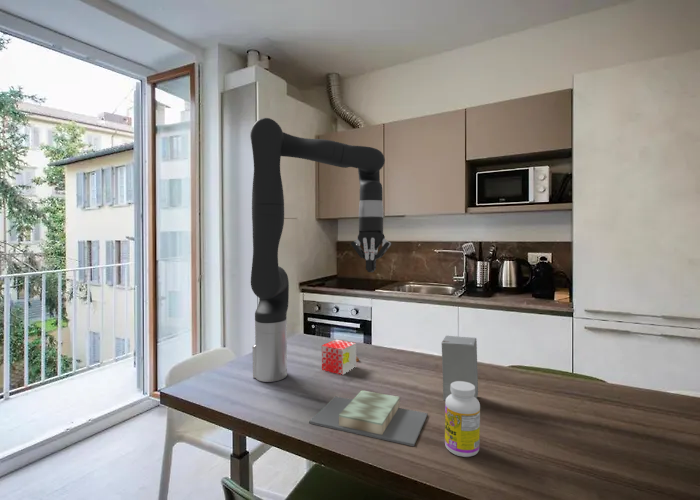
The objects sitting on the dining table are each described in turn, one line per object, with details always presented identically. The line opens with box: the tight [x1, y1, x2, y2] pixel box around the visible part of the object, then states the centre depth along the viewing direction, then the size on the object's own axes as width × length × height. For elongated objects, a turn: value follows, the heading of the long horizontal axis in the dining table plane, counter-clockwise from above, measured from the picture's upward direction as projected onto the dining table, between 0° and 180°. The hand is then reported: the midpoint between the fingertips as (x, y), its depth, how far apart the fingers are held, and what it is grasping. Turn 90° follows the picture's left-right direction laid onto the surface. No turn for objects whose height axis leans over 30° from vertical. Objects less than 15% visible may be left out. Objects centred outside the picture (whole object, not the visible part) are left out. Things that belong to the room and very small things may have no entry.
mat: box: [308, 395, 429, 447], centre depth 86 cm, size 24×14×1 cm, turn 67°
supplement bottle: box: [444, 381, 481, 458], centre depth 74 cm, size 7×7×13 cm
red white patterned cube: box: [321, 339, 357, 376], centre depth 119 cm, size 8×8×8 cm
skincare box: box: [441, 335, 479, 401], centre depth 97 cm, size 8×7×16 cm
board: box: [339, 389, 401, 435], centre depth 87 cm, size 10×2×14 cm
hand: (370, 272), depth 116 cm, fingers closed
